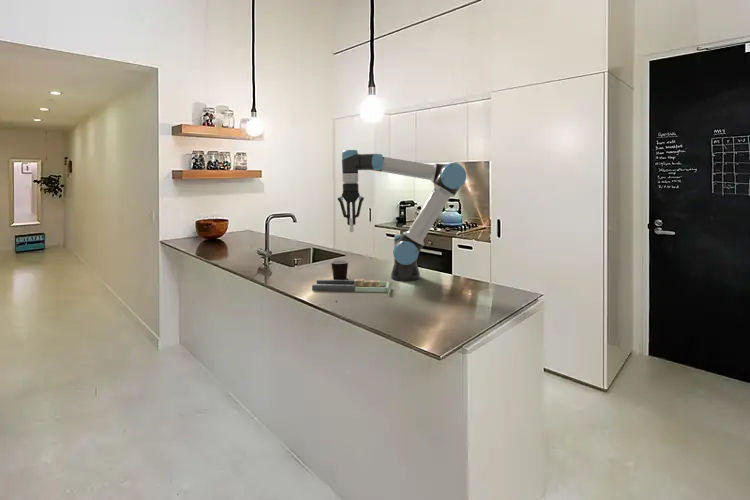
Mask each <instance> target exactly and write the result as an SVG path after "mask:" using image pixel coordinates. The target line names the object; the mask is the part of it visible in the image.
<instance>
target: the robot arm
mask: <svg viewBox="0 0 750 500" xmlns="http://www.w3.org/2000/svg"><path fill="white" fill-rule="evenodd" d="M341 169H342V170H341V171H342V173H341V174H342V192H341V193H342V194H341V196H339V197H338V198H337V201H338V202H339V206H340V208H341V213H342V216H343V218H346V221H347V223H346V224H347V226H349V233H354V230H355V229H354V226H355V225H356V219H357V218H358V217H359V216H360V213H361V209H362V205H363V201H364V200H365V197H364V196H361V195H360V191H359V183H358V182H359V171H375V172H380V173H381V172H382V173H388V174H393V175H398V176H403V177H409V178H410V177H411V178H415V179H416V178H417V179H423V180H426V181H430V182H431V183H433V186H434V187H433V190H432V191H431V193H430V195H429V196H428V198H427V199H426V201H425V202H424V204H423V206H422V208H421V209H420V211H419V212H418V214H417V216H416V218H415V219H414V221H413V223H412V224H411V225H410V228H409V229H408V230H406V231H403V233H402V234H395V235H394V239H393V242H394V247H393V250H392V251H393V257H394V258H393V260H394V263H393V266H392V270H391V272H390V278H391V279H392V280H395V281H398V282H399V281H401V282H402V281H404V282H411V281H417V280H420V278H421V273H420V270H419V267H418V264H417V262H418V261H417V260H418V257H419V254H420V252H421V250H422V249H423V247H424V245H425V242H424V240H425V238H426V237H427V234H428V233H429V231H430V230H431V229H432V227H433V225H434V223H435V222H436V221H437V219H438V217H439V216H440V214H441V212H442V211H443V209H444V208H445V206H446V204H447V203H448V202H449V200H450V198H452V197H455V196H456V195H457V193H458V192H459V190H460V189H461V187H462V186H463V185H464V184H465V183H466V180H467V172H466V170H465V168H464V166H463V165H461V164H459V163H458V162H450V163H446V164H445V163H434V164H430V163H423V162H417V161H412V160H404V159H400V158H399V159H398V158H395V157H394V158H393V157H387V156H383V154H382V153H364V154H362V153H361V154H360V153H359V152H358V149H346V150H345V149H344V150H343V151H342V155H341ZM344 201H345V202H346V207H345V204H344ZM357 201H359V202H358V205H357V209H356V202H357ZM351 211H352V212H351ZM351 213H352V217H351Z"/></svg>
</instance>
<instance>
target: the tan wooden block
mask: <svg viewBox="0 0 750 500" xmlns="http://www.w3.org/2000/svg"><path fill="white" fill-rule="evenodd" d="M371 282H372V279H364V281H363V287H371Z"/></svg>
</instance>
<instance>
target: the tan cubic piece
mask: <svg viewBox="0 0 750 500" xmlns="http://www.w3.org/2000/svg"><path fill="white" fill-rule="evenodd" d="M353 280H354V285H356V287H363V281H364V280H365V279H364V278H355V279H353Z"/></svg>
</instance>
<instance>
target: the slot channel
mask: <svg viewBox="0 0 750 500" xmlns="http://www.w3.org/2000/svg"><path fill="white" fill-rule="evenodd" d="M354 280H355V279H346V280H334V279H316V283H313V284H312V285H311V290H312V291H313V292H314V291H317V292H320V291H321V292H323V291H324V292H327V291H329V292H355V287H356V285H354Z"/></svg>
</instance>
